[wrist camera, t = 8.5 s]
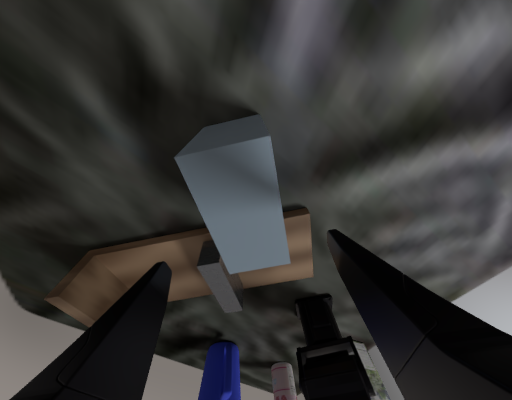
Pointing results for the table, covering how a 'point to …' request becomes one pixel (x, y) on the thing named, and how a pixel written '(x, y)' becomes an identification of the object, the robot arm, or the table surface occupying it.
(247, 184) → the blue-grey rectangular block
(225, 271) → the grey rectangular block
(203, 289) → the shelf
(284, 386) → the beverage can
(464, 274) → the table surface
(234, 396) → the mug
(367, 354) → the syrup box
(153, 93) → the table surface
